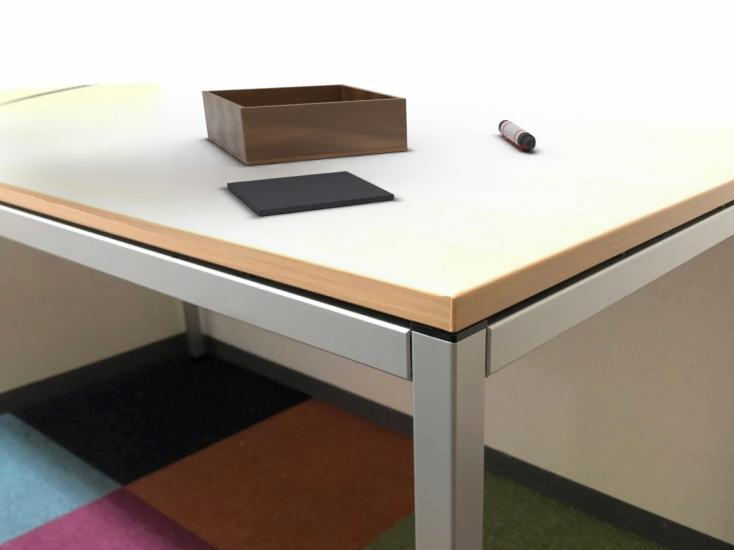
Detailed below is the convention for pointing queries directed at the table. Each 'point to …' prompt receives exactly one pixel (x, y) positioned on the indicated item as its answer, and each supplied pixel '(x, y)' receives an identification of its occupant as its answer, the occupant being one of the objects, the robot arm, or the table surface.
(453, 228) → the table surface
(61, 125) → the table surface
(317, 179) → the mat
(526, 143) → the marker
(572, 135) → the table surface
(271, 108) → the box
